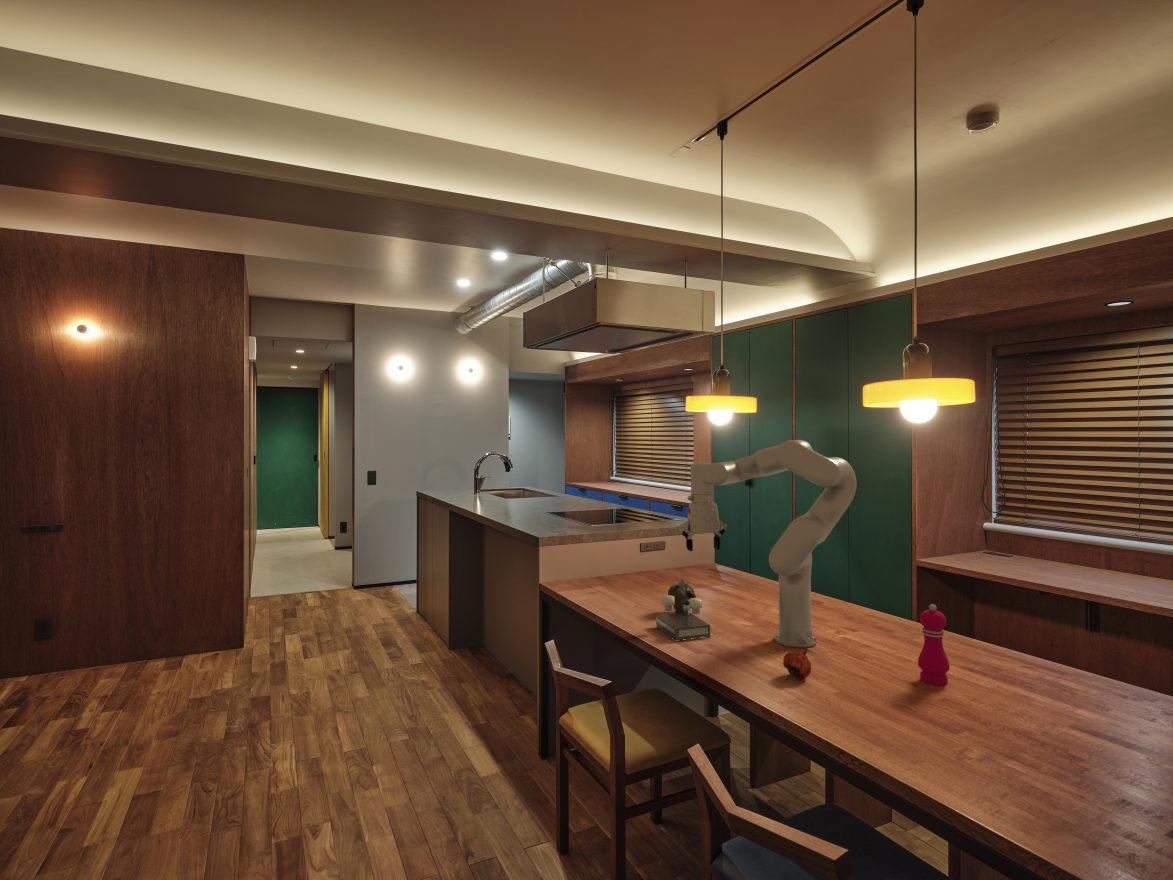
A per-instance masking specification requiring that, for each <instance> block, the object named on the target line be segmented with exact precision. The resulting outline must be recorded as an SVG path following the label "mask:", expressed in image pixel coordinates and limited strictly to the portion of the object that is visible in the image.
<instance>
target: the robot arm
mask: <svg viewBox="0 0 1173 880" xmlns="http://www.w3.org/2000/svg"><path fill="white" fill-rule="evenodd" d="M786 471H790V472H792V473H793V474H795V475H797V476H800V477H802V478H803V479H804V480H807V481H809V482H811V483H812V484H815V485H817V486H819V487H823V488H824V490H823V491H822V492H821V494H819V496H818V497H817V498H816V500H815V502H814V503H813V504H812V506H811V507H810V508H809V509H808V511H807V512H806V513H805V514H803V515H800V516H798V517H796V518H795V519H794V520H793V521H791V523H789V525H788V526H787V528H786V529H785V530H784V532H782V534H781V536H780V537H779V539H778V540H777V542H776V543H775V544H774V545H773V547H772V548H771V550H770V552H769V556H768V563H769V566H770V568H771V569H772V571H774V573H776V574H777V575H778V630H779V631H778V632H777V633H776V634H774V635H773V640H774V641H775V643H777V644H779V645H782V646H785V647H791V648H810V647H813V646H815V645H817V642H818V641H817V640H818V639H817V637H815V636H814V635H813V630H812V601H811V599H812V597H811V594H812V593H811V592H812V591H811V590H812V587H811V586H812V585H811V584H812V579H811V578H812V566H813V555H812V552H813V551H814V550H815V549H816V548H817V545H820V544H822V543H824V541H825V540H826V539H827V537H829V535H830V534H831V531H833V529H834V527H836V524H838V522H839V521H840V519H841V518H842V516H843V515H844V513H845V512H846V511H847V509H848V508H849V506H850V505H851V503H852V501H853V500H854V497H855V495H856V491H857V488H858V487H857V485H858V484H857V483H858V481H857V477H856V473H855V471H854V469H853V467H852V465H851V464H850V462H848V461H847V460H846V459H844V458H842V457H836V456H832V457H830V456H829V457H826V456H824V455H822V454H820V453H818V452H817V451H814V450H813V447H812V446H811V444H810V443H809V442H808V441H806V440H802V439H789V440H786V441H784V442H782V443H781V444H777V445H773V446H769V447H766V448H762V449H759V450H757V451H755V452H754V453H753V454H751V455H748V456H746V457H741V458H736V459H734V460H730V461H721V462H714V463H710V462H694V463H692V464H691V465H690V488H691V489H690V495H689V496H687V501H690V503H689V505H688V511H687V520H686V521H685V522H683V523H682V524H679V525H678V530H679V532H680V534H681V535H682V536H683V537H684V539H685V545H686V546H685V548H686V549H687V550H688V551H689V552H693V551H694V549H693V548H694V545H693V542H694V541H693V539H692V538H693V536H694V535H695V534H698V535H701V534H713V535H714V536H713V548H714V549H715V550H718V551H719V550H720V547H721V538H722V536H723V534H725V532H726V530H727V527H728V523H726V522H724V521H722V520H721V519H720V515H719V510H718V506H717V505H718V504H717V503H716V502H715V500H714V499H715V496H714V495H715V494H714V493H715V491H714V486H725V485H731V484H732V485H733V484H736V483H739V482H744V481H748V480H751V479H756V478H759V477H763V478H764V477H767V476H771V475H776V474H780V473H783V472H786ZM685 528H687V532H686V530H685Z"/></svg>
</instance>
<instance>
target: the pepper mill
mask: <svg viewBox="0 0 1173 880" xmlns="http://www.w3.org/2000/svg"><path fill="white" fill-rule="evenodd" d="M936 605H937V604H934V603H931V604H930V605H929V606H928V609H927V610H924V611H923V612H921V613H920V617H919V622H920V624H921V625H922V629H921V630H922V631H921V632H922V635H923V637H924V638H923V639H924V640H923V641H924V643H923V646H922V649H921V651H920V653H919V656H918V659H917V665H918V667H919V669H920V670H921V671H920V672H919V673H920V674H919V679H920V681H921V680H922V681H921V682H923V683H924V682H925V684H927V683H928V684H927V685H930V684H932V685H931V686H937V685H942V686H947V684H948V675H947V673H948V672H949V670H950V667H951V666H950V662H949V658H948V656H947V653H946V651H945V648H944V645H943V637H944V636H945V630H944V628H945V627H946V625H947V619H946V616H945V615H944V613H942V612H941V611H939V610H937V609H938V607H937V606H936Z"/></svg>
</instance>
